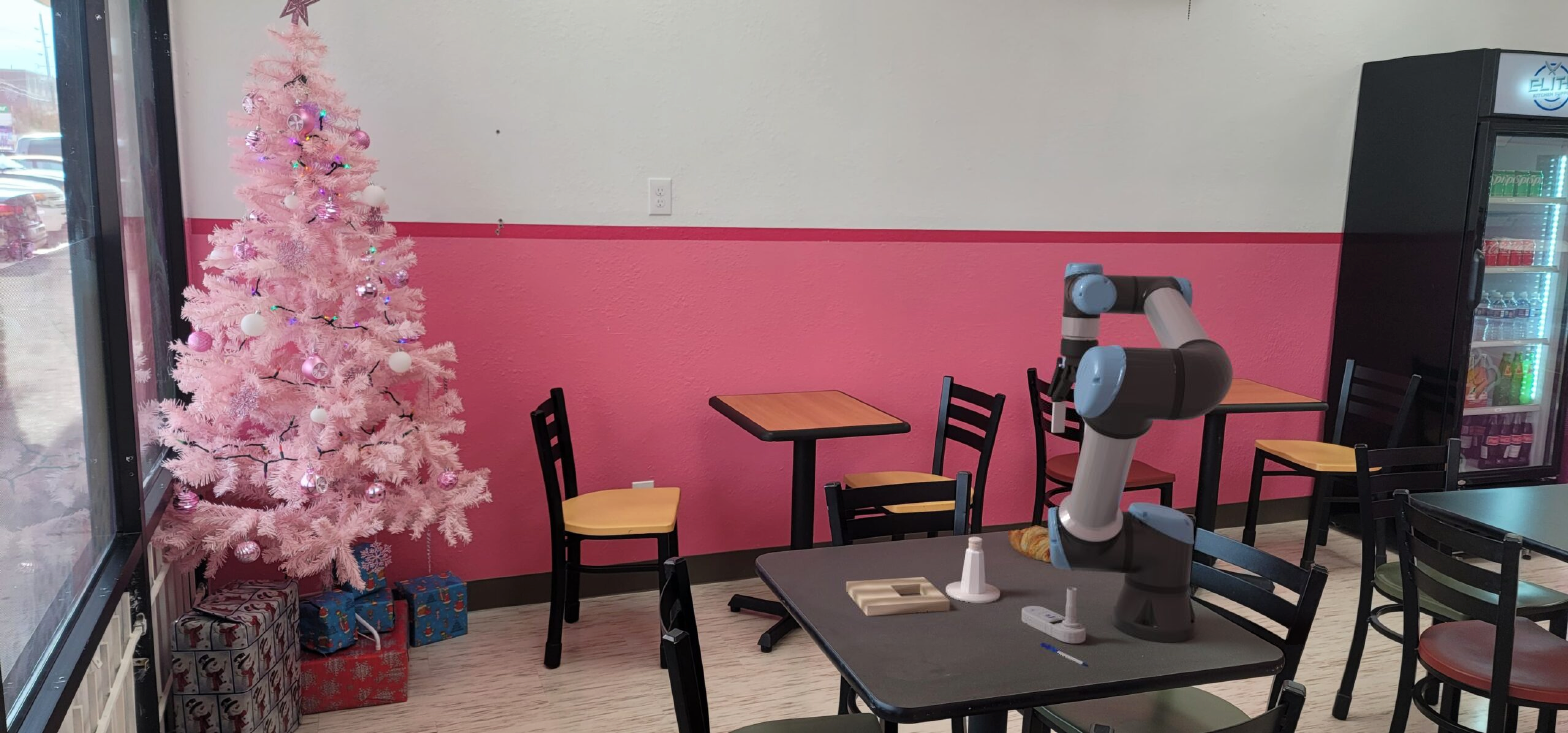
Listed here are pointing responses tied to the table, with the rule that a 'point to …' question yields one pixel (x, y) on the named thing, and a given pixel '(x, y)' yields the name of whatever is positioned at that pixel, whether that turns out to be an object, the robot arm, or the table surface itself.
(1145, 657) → the table surface
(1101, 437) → the robot arm
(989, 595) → the saucer
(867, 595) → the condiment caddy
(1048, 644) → the ballpoint pen
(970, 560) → the pepper shaker
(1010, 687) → the table surface
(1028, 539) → the croissant
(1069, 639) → the electronic device
